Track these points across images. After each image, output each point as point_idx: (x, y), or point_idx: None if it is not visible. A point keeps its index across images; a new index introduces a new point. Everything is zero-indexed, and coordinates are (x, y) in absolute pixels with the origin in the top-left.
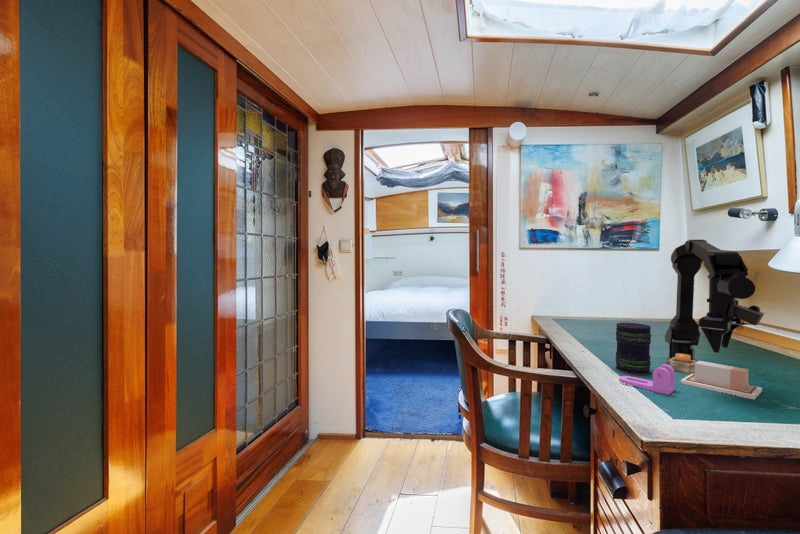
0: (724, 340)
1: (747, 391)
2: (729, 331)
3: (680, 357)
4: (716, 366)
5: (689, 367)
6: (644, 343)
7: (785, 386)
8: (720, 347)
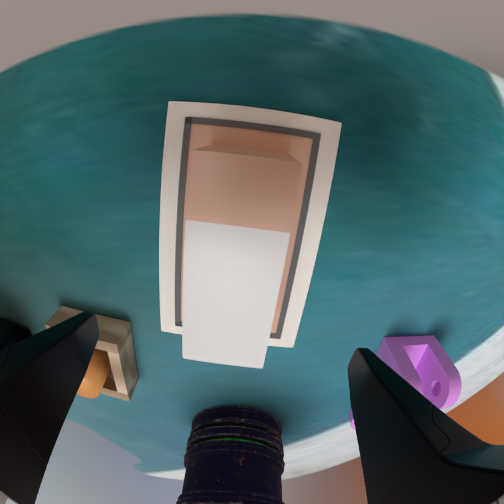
0: (70, 365)
1: (293, 143)
2: (7, 404)
3: (101, 384)
4: (259, 294)
5: (122, 344)
6: (265, 500)
7: (47, 68)
8: (376, 370)
